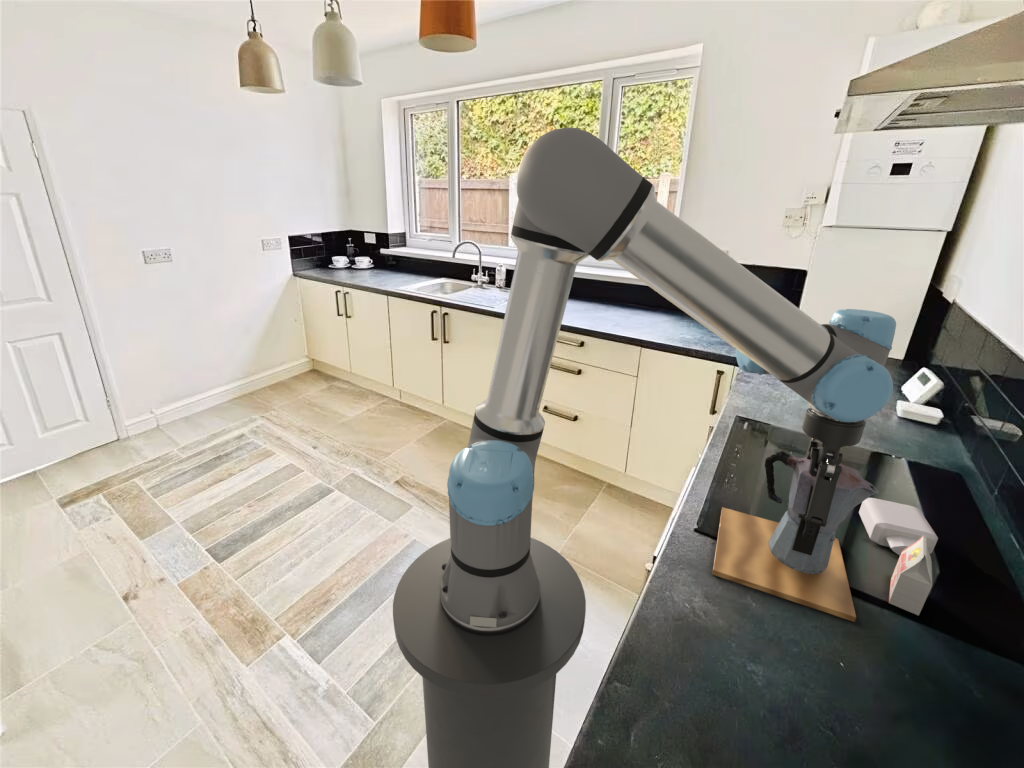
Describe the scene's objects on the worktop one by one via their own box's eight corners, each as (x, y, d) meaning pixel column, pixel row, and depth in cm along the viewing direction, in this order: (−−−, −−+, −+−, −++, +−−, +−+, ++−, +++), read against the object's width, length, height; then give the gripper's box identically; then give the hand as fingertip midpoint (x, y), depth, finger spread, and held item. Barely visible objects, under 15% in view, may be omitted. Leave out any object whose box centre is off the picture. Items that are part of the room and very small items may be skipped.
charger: (878, 563, 80) (857, 515, 93) (944, 580, 77) (913, 528, 90) (886, 541, 79) (864, 495, 92) (954, 557, 75) (921, 507, 88)
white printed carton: (919, 590, 75) (940, 540, 71) (918, 615, 70) (942, 563, 66) (890, 578, 77) (910, 530, 74) (888, 602, 72) (909, 552, 69)
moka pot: (846, 594, 71) (886, 484, 64) (739, 551, 79) (764, 449, 72) (849, 560, 78) (885, 457, 71) (751, 523, 87) (774, 429, 79)
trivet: (711, 574, 77) (713, 569, 77) (721, 511, 94) (722, 507, 93) (854, 622, 69) (856, 617, 68) (836, 543, 85) (838, 538, 85)
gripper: (881, 448, 59) (833, 585, 67) (854, 395, 76) (819, 509, 84) (813, 434, 62) (776, 567, 70) (802, 387, 79) (773, 497, 87)
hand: (799, 535), depth 77 cm, fingers closed on moka pot, 8 cm apart
